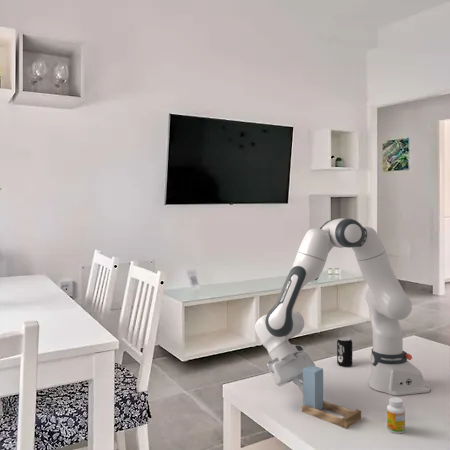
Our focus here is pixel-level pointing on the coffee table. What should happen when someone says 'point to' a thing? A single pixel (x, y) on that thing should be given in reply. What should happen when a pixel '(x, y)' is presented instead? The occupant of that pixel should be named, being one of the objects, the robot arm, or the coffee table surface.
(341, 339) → the beverage can
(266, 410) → the coffee table surface
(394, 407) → the supplement bottle
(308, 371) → the block
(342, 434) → the coffee table surface
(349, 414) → the brown flat open frame
